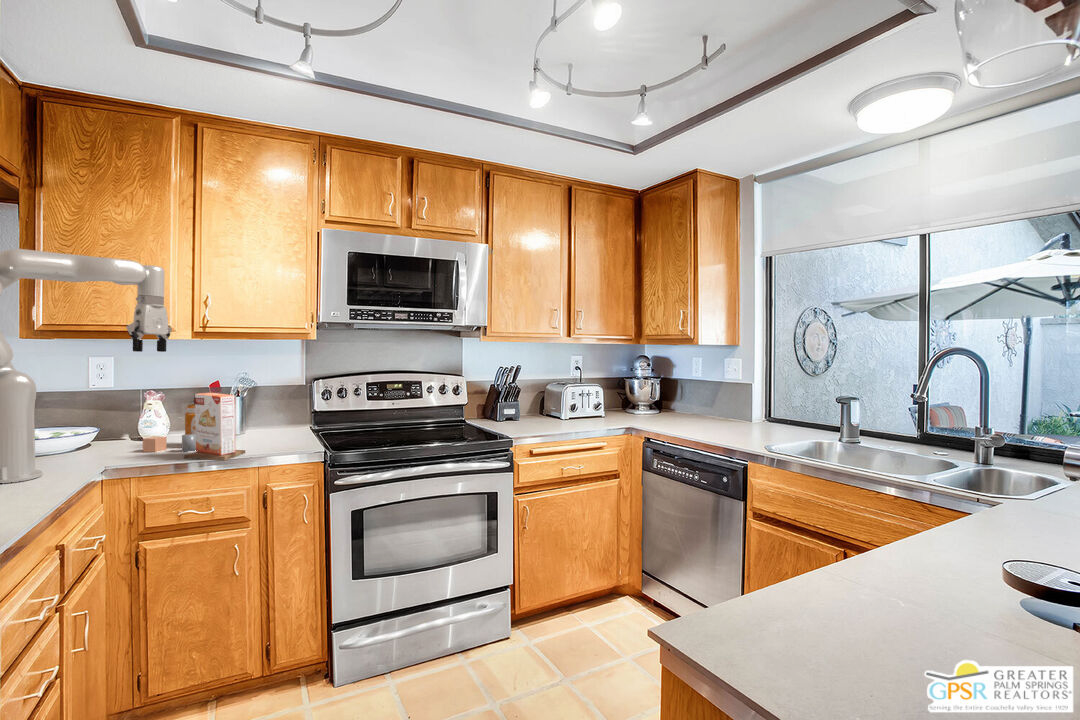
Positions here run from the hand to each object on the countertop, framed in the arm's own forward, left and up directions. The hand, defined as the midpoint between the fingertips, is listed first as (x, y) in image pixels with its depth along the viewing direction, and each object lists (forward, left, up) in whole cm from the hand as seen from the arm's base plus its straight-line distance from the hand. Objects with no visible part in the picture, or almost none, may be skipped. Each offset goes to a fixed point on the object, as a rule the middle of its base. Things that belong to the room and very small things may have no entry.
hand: (149, 351), depth 187 cm
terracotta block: (+10, +8, -37) cm, 39 cm away
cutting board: (+6, -19, -37) cm, 42 cm away
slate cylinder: (+12, -4, -37) cm, 39 cm away
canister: (+22, 0, -37) cm, 43 cm away
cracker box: (+7, -19, -36) cm, 41 cm away
